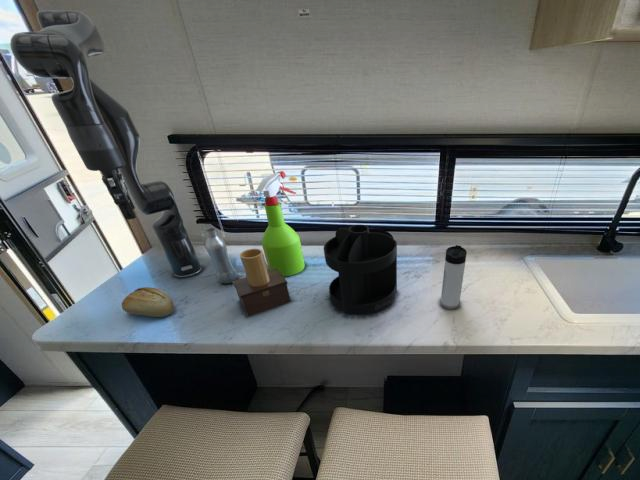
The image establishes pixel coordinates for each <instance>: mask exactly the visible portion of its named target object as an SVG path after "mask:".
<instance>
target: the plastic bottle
mask: <svg viewBox="0 0 640 480" xmlns="http://www.w3.org/2000/svg"><path fill="white" fill-rule="evenodd" d="M203 232H204V236H205V237H206V239H205V241H204V248H205V250H206V251H207V253H208V255H209V257H210V259H211V261H212V263H213V266H214V270H215V276H216V279H217V280H218V281H219V282H220V283H221V284H230V283H232V281H234V280H237V278H238V273H237V271H236V269H235V268H234V266H233V264H232V260H230V256H229V253H228V252H229V251H228V247H227V242H226V240H224V239H223V238H222V237H221V236H219V232H218V230H217V228H216V227H208V228H205V229H204V230H203Z"/></svg>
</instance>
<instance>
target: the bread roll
mask: <svg viewBox="0 0 640 480" xmlns="http://www.w3.org/2000/svg"><path fill="white" fill-rule="evenodd" d="M121 308H122V310H123V312H125V313H126V314H130V315H137V316H144V317H151V318H164V317H167V316H169V315H171V314H172V313H173V311H174V309H175V305H174V301H173V299H172V298H171V297H170V296H169V295H168V294H167V293H166V292H165V291H163V290H162V289H159V288H157V287H148V286H146V287H145V286H143V287H138V288H136V289H135V290H133V291H132V292H130V293H128V294H127V296H125V297H124V299H123V300H122V302H121Z"/></svg>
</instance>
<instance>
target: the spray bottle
mask: <svg viewBox="0 0 640 480" xmlns="http://www.w3.org/2000/svg"><path fill="white" fill-rule="evenodd" d="M286 175H287V174H286V172H285V171H283V170H281V171H277V172H276V171H275V172H274V173H271V174H270V175H268V176H266V177H265V178H263V179H262V180H261V182H260V183H259V184H258V186H257V188H256V190H255V191H257V192H259V193H260V192H261V193H263V197H265V198H264V202H265V204H264V208H265V214H266V219H267V223H268V224H267V225H268V226H267V227H266V229H265V231H264V233H263V236H262V239H261V242H260V243H261V246H262V251H263V255H264V258H265V262H266V266H267V269H268V271H269V270H272V269H276V268H277V270H278V271H279V272H280V273H281V275H282V276H283V277H284V278H286V277H291V276H295V275H297V274H299V273H301V272H302V271H303V270H305V267H306V265H305V258H304V254H303V253H304V252H303V249H302V243H301V237H300V235H299V234H298V232H296V231H295V229H294V228H292V227H291V226H289V225H288V224H287V223H286V221H285V218H284V214H283V210H282V205H281V203H280V202H279V200H278V198H277V194H278V192H279V190H281V191H284V192H287V193H290V194H293V195H296V194H297V192H295V191H293V190H291V189H290V188H288V187H285V186H284V184H283V182H284V179H285V178H286Z"/></svg>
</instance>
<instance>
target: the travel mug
mask: <svg viewBox="0 0 640 480" xmlns="http://www.w3.org/2000/svg"><path fill="white" fill-rule="evenodd" d="M467 255H468V254H467V249H466V248H464V247H462V245H457V244H455V245H453V246H452V245H451V246H449V247H447V249H446V250H445V258H444V263H443V264H444V265H443V275H442V284H441V295H440V305H441V306H442V308H444V309H448V310H453V309H457V308H458V307H459V306H460V302H461V301H460V300H461V295H462V288H463V282H464V276H465V275H464V274H465V268H466V267H465V266H466V261H467Z"/></svg>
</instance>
